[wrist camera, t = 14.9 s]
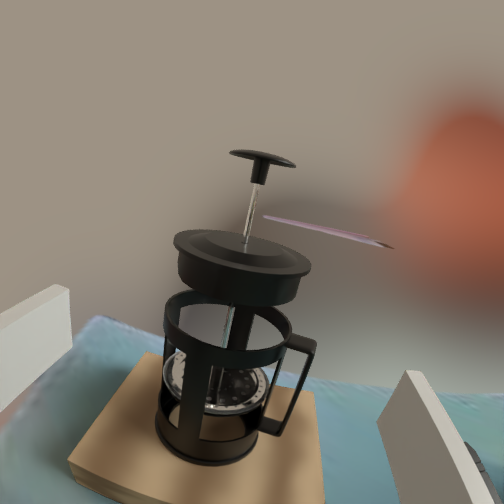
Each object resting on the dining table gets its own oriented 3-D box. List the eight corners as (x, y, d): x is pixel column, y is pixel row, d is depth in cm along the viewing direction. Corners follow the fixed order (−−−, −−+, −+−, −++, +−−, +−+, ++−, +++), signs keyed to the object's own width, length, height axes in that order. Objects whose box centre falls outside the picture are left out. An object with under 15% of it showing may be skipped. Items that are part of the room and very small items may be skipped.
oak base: (302, 415, 33) (313, 392, 32) (308, 541, 15) (326, 526, 14) (145, 376, 33) (146, 351, 33) (76, 482, 16) (67, 459, 15)
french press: (127, 431, 20) (148, 129, 15) (179, 379, 29) (216, 149, 24) (258, 489, 18) (374, 170, 12) (285, 419, 26) (361, 181, 21)
